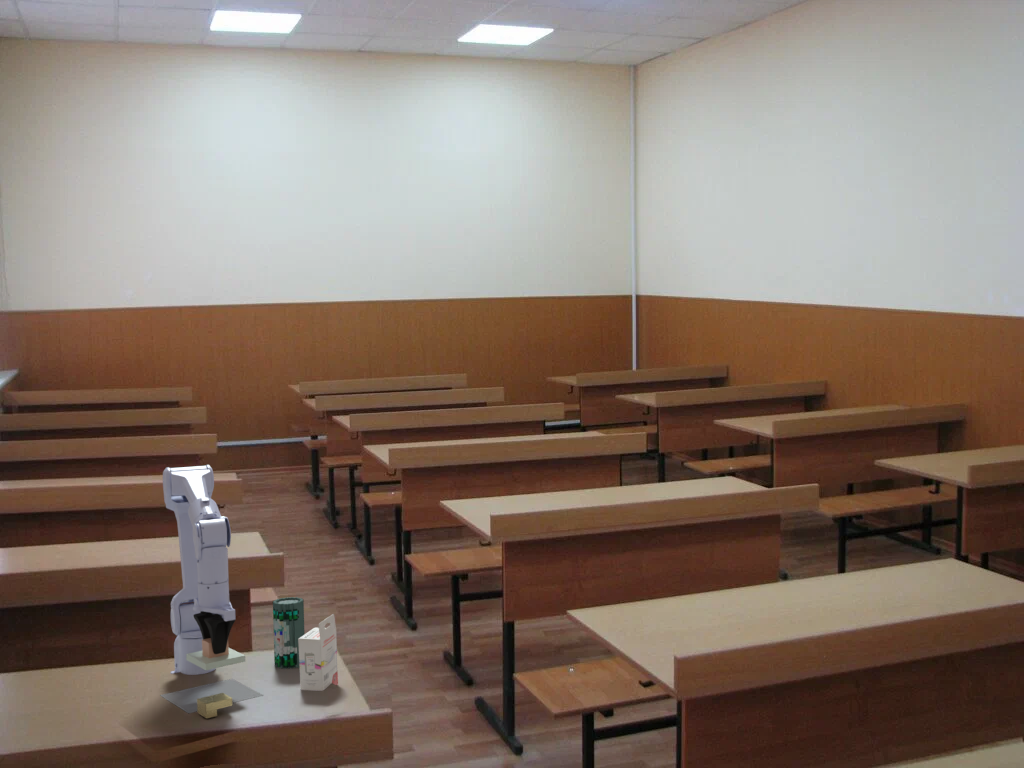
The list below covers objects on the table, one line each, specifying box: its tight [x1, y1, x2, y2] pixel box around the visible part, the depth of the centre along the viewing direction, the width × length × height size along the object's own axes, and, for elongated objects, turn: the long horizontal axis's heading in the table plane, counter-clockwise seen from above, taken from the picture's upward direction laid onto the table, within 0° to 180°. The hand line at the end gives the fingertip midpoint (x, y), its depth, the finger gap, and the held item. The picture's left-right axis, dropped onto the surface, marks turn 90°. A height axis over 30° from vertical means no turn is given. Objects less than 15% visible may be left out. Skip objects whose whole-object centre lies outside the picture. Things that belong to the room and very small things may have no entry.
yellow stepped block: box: [197, 693, 233, 719], centre depth 197 cm, size 4×5×3 cm
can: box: [272, 596, 306, 670], centre depth 227 cm, size 6×6×15 cm
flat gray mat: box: [159, 678, 264, 714], centre depth 208 cm, size 14×15×2 cm
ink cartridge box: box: [298, 613, 339, 692], centre depth 214 cm, size 9×5×15 cm, turn 168°
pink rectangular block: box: [186, 638, 246, 670], centre depth 207 cm, size 9×8×4 cm
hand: (215, 651), depth 207 cm, fingers closed on pink rectangular block, 3 cm apart
